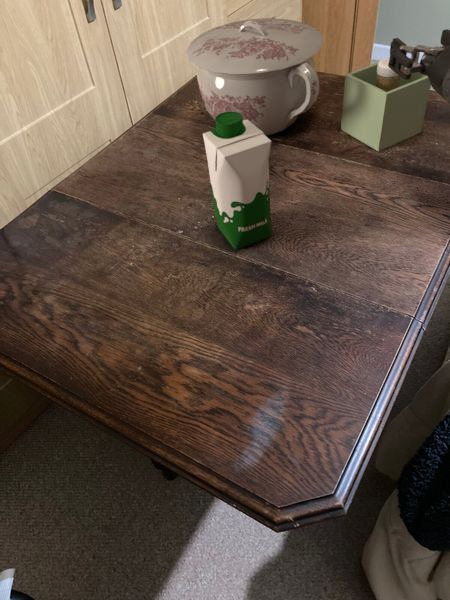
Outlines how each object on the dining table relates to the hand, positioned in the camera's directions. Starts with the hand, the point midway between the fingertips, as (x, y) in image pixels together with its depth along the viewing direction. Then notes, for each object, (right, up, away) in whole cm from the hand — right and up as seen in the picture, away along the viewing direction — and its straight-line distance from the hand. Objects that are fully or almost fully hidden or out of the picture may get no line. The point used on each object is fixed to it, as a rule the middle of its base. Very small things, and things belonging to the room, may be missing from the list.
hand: (418, 40), depth 81 cm
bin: (0, -8, +21) cm, 23 cm away
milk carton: (-29, -32, +4) cm, 43 cm away
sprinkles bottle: (0, -8, +21) cm, 22 cm away
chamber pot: (-25, -3, +29) cm, 38 cm away
